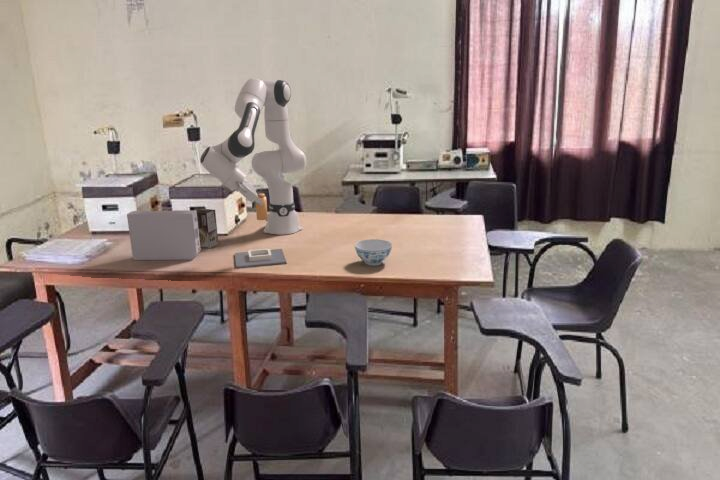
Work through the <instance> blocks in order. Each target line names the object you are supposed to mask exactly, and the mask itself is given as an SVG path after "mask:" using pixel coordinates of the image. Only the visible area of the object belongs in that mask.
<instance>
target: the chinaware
mask: <svg viewBox="0 0 720 480" xmlns="http://www.w3.org/2000/svg"><path fill="white" fill-rule="evenodd" d="M392 248H393V244H392V242H390V241H389V240H385V239H379V238H378V239H377V238H375V239H373V238H372V239H363V240H359V241H357V242H355V243H354V249H355V252H356V254H357V256H358V258H360V259H361V261H363V262H364V263H365V264H366V265H367V266H371V265H372V267H373V266H380V265H381V264H382V263H383V261H386V259H387V258H388V257H389V256H390V254H391V251H392Z"/></svg>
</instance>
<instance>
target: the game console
mask: <svg viewBox="0 0 720 480" xmlns="http://www.w3.org/2000/svg"><path fill="white" fill-rule="evenodd" d="M126 218H127V224H128V225H127V226H128V232H129V233H128V234H129V239H130V246H131V247H130V249H131V254H132V255H131V256H132V260H133V261H163V260H164V261H166V260H167V261H168V260H169V261H173V260H174V261H177V260H179V261H181V260H193V259H194V258H195V257H196V256H197V255H198V254H199V253H200V251H201V247H200V240H199V230H198V220H197V211H196V209H194V210H192V209H191V210H186V209H185V210H178V209H176V210H157V211H156V210H155V211H154V210H151V211H150V210H149V211H148V210H145V211H140V210H139V211H138V210H133V211H130V212H128V213H127V214H126Z"/></svg>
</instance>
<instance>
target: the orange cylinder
mask: <svg viewBox="0 0 720 480" xmlns="http://www.w3.org/2000/svg"><path fill="white" fill-rule="evenodd" d="M257 195H258V197H259V198H260V199H261V200H263V201H264V204H263V205H262V206H261V205H260V204H259V203H257V202H255V214H256V220H257V221H266V219H268V214H269V213H268V202H267V196H266V194H265V193H263V192H262V193H257Z"/></svg>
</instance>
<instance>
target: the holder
mask: <svg viewBox="0 0 720 480" xmlns="http://www.w3.org/2000/svg"><path fill="white" fill-rule="evenodd" d="M234 260H235V267H236V269H242V268H243V269H244V268H253V267H264V266H276V265H277V266H278V265H287V264H288V263H287V258H286V257H285V254H284V251H283V249H282V248H277V249H270V248H262V249H261V248H259V249H250V250H249V249H248V250H247V251H243V252H241V251H240V252H234Z"/></svg>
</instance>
